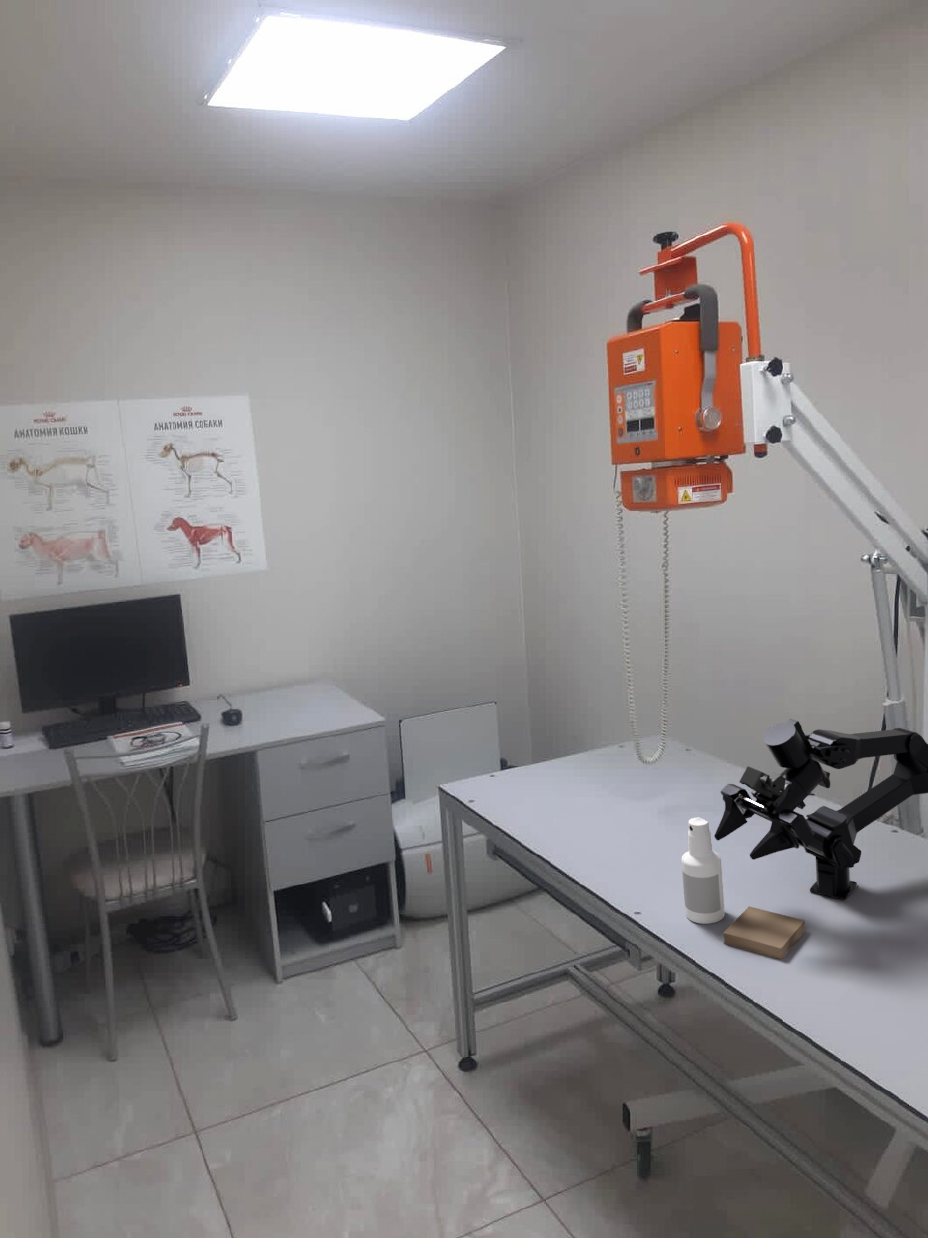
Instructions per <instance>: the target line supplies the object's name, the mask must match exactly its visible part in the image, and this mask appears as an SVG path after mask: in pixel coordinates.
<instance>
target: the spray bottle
mask: <svg viewBox="0 0 928 1238" xmlns="http://www.w3.org/2000/svg"><path fill="white" fill-rule="evenodd" d="M687 838H688V839H687V840H688V845H687V846H688V851H686V852H684V854H683V855H682V856H681V861H680V862H681V871H682V887H683V897H684V898H683V899H684V910H685V916H686V918H687V919H688V920H690V921H691V922H694V923H697V924H701V925H707V924H708V925H710V924H716V923H718V922H720V921H721V920H722V919H724V917H725V913H726V912H725V897H724V895H725V894H724V883H723V869H722V868H723V867H722V859H721V856H720V854H719V853H717V852H716V851H715V850H713V844H712V836H711V831H710V825H709V821H707V820H705V819H703V818H702V817H692V818H690V819H689V820H688V832H687Z"/></svg>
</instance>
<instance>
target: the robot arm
mask: <svg viewBox="0 0 928 1238" xmlns="http://www.w3.org/2000/svg"><path fill="white" fill-rule="evenodd" d="M762 740H763V742H764V744H765V745H766V747H767V749H768V750H769V752H770V754H771V756H772V757H773V758H774V760H775V762H776V764H777V765H778V766H779V767H781V768H783V769H784V770H783V771H781V772H780V774H779V773H776V772H773V773H771V774H770V775H769V774H767V773H765V772H763V771H762V770H758V769H756V768H754V767H751V766H748V765H747V767H746V768H745V770H744V772H743V774H742V776H741V778H740V779H739V781H738V782H739V783H740V784H742V785H745V786H746V787H748V788H750V789H751V791H750V793H751V795H752V797H753V798H755V799H756V800H755V801H754V800H753V799H752V798H751V796H750V794H749V793H748V791H747V789H745V788H743V787H741V786H739V785H736V784H734V783H727V784H726V785H724V787H723V788H722V789H721V790H720V794H721V796H722V801H723V802H724V811H723V815H722V817H721V820H720V822H719V824H718V826H717V828H716V830H715V834H714V839H715V840H716V841H721V840H723V839H725V838H726V837H728V836H729V835H730V834H732V833H734V832H735V831H736V830H738V829H740V828H741V827H743V826H744V825H745V824H747V823H748V820H747V819H751V818H752V817H753V816H754V815H757V816H758V817H760V818H763V819H764V820H767V821H770V822H771V825H770V829H769V831H768V832H767V833H766V834H765V835H764V836H763V838H762V839H761V840H760V841H759V842H758V843H757V844H756V845H755V847H754V848H753V849H752V850H751V852H750V853H749V857H750V859H751V860H754V861H755V860H757V859H760V858H763V857H767V856H769V855H773V854H776V853H778V852H782V851H786V850H789V849H794V848H795V849H799V848H800V847H802V848H803V849H804V851H805V853H807V854H809V855H812V856H814V857H815V873H816V874H815V875H816V880H815V882H814V883H813V884H812V885H811V886H810V888H809V892H811V893H814V894H817V895H822V896H827V897H830V898H836V899H839V900H847V898H848V897H849V896H850V894H851V893H852V892H853V890H855V889H856V887H858V886H857V885H858V883H857V881H854V880H851V877H850V876H851V874H850V871H851V870H850V869H852V868H854V867H855V864H858V863H860V860H861V857H862V856H861V855H862V850H860V848H859V847H857V846H856V845H855V841H856V838H857V834H858V833H859V832H861V831H862V830H863V829H866V827H868V826H869V825H871V824H873V823H874V822H876V821H877V820H878V819H879V818H881V817H882V816H884V815H886V814H887V813H889V812H890V811H891V810H893V809H894V808H896V807H897V806H899V805H900V804H902V803H904V802H905V801H906V800H908V799H909V798H911V797H912V796H917V795H924V794H925V795H927V794H928V743H927V742H926V740H925V739H924V737H923V736H922V735H921V734H920V733H918V732H916V731H913V730H909V729H906V728H903V727H896V728H892V729H885V730H877V731H876V730H875V731H869V732H868V731H865V732H859V733H845V732H841V731H840V732H839V731H835V730H827V729H815V730H813V731H812V732H811V733H810V734H805V732H804V730H803V727H802V724H801V723H800V721H798V720H795V719H792V718H789V719H788V720H787V721H786V722H780V723H777V724H776V725H773V726H770V727H768V729H767V730H766V731H765V732H764V734H763V738H762ZM890 755H891V756H893V758H894V760H895V762H896V763H895V767H894V770H893V773H892V774H891V775H889V776H888V777H887V778H885V779H883V780H882V781H881V782H879V783H878V784H876V785H874V786H872V788H869V789H868V790H867V791H865V792H864V793H862V794H861V795H859V796H857V798H855V799H853V800H852V801H850V802H848V803H847V804H846V805H844V806H843V807H841V808H840V809H837V810H835V809H833V808H830V807H828V806H825V805H822V806H819V808H817V809H816V810H815V811H814V812H812V813H810V814H806V818H805V816H804V815H803V814H801V813H799V812H796V811H795V810H796V809H797V808H798V809H801V810H804V808H805V807H806V806H807V805H806V804H805V802H804V800H805V799H807V798H808V796H809V795H810V794H811V793H812V792H813V791H814V790H815V789H816V788H817V786H821V787H823V788H825V789H830V788H831V780H830V776H831V773H830V772H829V771H827V770H824V769H823V767H822V765H825V766H828V767H830V768H832V769H836V770H841V769H845V768H848V767H851V766H854V765H855V764H857V762H858V761H859V760H861V759H865V758H874V757H882V756H883V757H884V756H890ZM821 764H822V765H821Z"/></svg>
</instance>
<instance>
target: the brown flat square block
mask: <svg viewBox="0 0 928 1238" xmlns="http://www.w3.org/2000/svg"><path fill="white" fill-rule="evenodd" d="M805 932H806V921H805V920H804V919H800V918H797V917H794V916H790V915H785V914H781V913H777V912H772V911H769V910H765V909H761V908H756V907H753V906H747V908H745V910H744V911H743V912H741V914H740V915H739V916H738V917H737V918H736V919H735V920H734V921H732V923H731V924H730V925H729V926H728V927H727V928H726V930H724V932H723V943H724V945H728V946H731V947H735V948H740V949H742V950H746V951H750V952H753V953H757V954H761V955H764V956H767V957H770V958H771V957H772V958H775V959H779V960H781V961H782V960H783V959H784V957H785V956H786V955H787V954H788V953H789V951H790V950H791V949H792V948H793V946H794V945H795V944H796V943H797V941H798V940H799V939H800V938H801V937H802V936H803V934H804V933H805Z"/></svg>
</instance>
